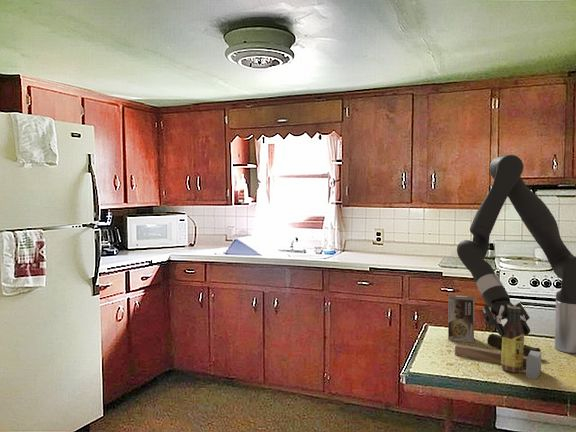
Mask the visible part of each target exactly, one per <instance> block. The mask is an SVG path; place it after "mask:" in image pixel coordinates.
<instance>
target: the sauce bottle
mask: <svg viewBox="0 0 576 432" xmlns="http://www.w3.org/2000/svg"><path fill="white" fill-rule="evenodd" d="M507 312H508V315H507V319H506V320H507V321H506V323H504V325H503V327H504V329H505V331H506V333H507V335H506V336H505V337H502V349H501V352H502V354H501V363H500V364H501V368H502V370H503V371H505V372H506V371H507V372H510V373H521V372H523V356H524V355H523V351H524V345H525V335H524V331H523V328H522V325H521V322H520V321H521V320H520V313H521V308H520V307H515V306H508V307H507Z"/></svg>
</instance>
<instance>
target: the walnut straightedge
mask: <svg viewBox="0 0 576 432" xmlns="http://www.w3.org/2000/svg"><path fill="white" fill-rule="evenodd" d="M501 354H502V351H498V350H492V349H488V348H487V349H486V348H481V347H475V346H470V345H464V344H459V343H457V344H456V345H455V346H454V355H455V356H461V357H465V358H472V359H477V360H481V361H487V362H491V363H495V364H497V363H498V364H502V363H501ZM526 361H527V356H525V355H523V367H522V369H523V368H524V369H526Z"/></svg>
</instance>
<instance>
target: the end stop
mask: <svg viewBox="0 0 576 432" xmlns="http://www.w3.org/2000/svg"><path fill="white" fill-rule="evenodd" d="M525 370H526V371H525V373H526V374H525V378H527V379H533V380H538V379H539V377H540V374H541V372H542V352H537V351H530V353H529V355H528V356H527V361H526V368H525Z"/></svg>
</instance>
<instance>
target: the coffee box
mask: <svg viewBox="0 0 576 432" xmlns="http://www.w3.org/2000/svg"><path fill="white" fill-rule="evenodd" d="M447 301H448V303H447V306H448V307H447V308H448V309H447V310H448V312H447V313H448V316H447V317H448V318H447V322H448V324H447V327H448V328H447V329H448V331H447V340H448V341H456V342H457V341H458V342H466V343H474V341H475V296H471V295H470V296H469V295H460V294H459V295H457V294H456V295H455V294H450V295H449V296H448V299H447Z"/></svg>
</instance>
